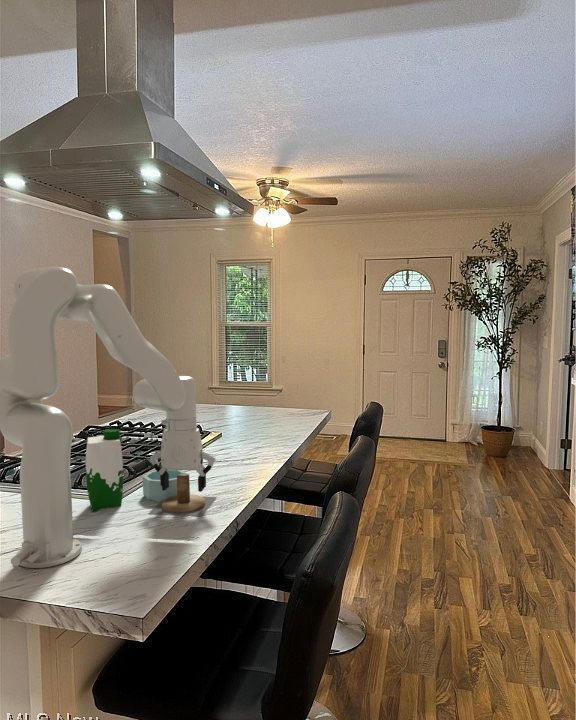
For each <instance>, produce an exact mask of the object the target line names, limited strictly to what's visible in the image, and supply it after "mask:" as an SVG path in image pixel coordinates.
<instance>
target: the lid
mask: <svg viewBox="0 0 576 720" xmlns="http://www.w3.org/2000/svg"><path fill="white" fill-rule="evenodd" d="M186 473H187V472H186ZM186 473H182V474H178V475H177V496H172V497H169V498H167V499H165V500H164V501H163V502H162V508H163V510H165V511H167V512H171V513H187V512H193V511H196V510H199V509H201V508H203V507H204V506H205V498H203V497H204V496H201V495H198V494H191V489H190V487H191V485H190V474H189V473H187V474H186Z"/></svg>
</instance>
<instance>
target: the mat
mask: <svg viewBox="0 0 576 720" xmlns="http://www.w3.org/2000/svg"><path fill="white" fill-rule="evenodd" d="M202 497H203V498H205V506H204V507H203V508H201V509H199V510H196V511H193V512H187V513H171V512H167V511H165V510H163V508H162V502H163V501H159V502H158V503H157V505H155V507H154V508H152V509H151V510H150V511H149V512H148V513H147V515H154V516H174V517H175V516H177V517H178V516H179V517H198V518H199V517H200V518H202V517H203V516H204V515H205V514H206V512H208V510H209V509H210V507H211V506H212V504H213V503H214V502H215V501H216V500H217V498H218V496H202Z"/></svg>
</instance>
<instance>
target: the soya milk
mask: <svg viewBox="0 0 576 720" xmlns="http://www.w3.org/2000/svg"><path fill="white" fill-rule="evenodd" d="M86 441H87V442H86V449H85V450H86V452H85V479H86V489H87V491H86V492H87V495H88V501H89V504H90V508H91V512H92V513H94V512H99V511H100V510H102V509H110V508H118V507H122V501H123V493H124V474H123V473H124V471H123V470H124V469H123V468H124V467H123V454H122V453H123V452H122V442H121V441H122V438H121V433H120V429H119V428H110V429H109V428H107V429H105V430H103V435H97V436H90V437H89V436H88V437H87V440H86Z"/></svg>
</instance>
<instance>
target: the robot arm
mask: <svg viewBox="0 0 576 720" xmlns="http://www.w3.org/2000/svg"><path fill="white" fill-rule="evenodd" d="M12 289H13V290H12V291H13V294H14V297H15V298H16V300H14V303H13V304H12V307H11V309H10V312H9V315H8V318H7V319H8V320H7V337H8V350H9V353H7V354H6V355H4V356H3V357H1V358H0V433H1V434H2V436H3V437H4V438H5V440H7V441H8V442H9V443H11V444H13V445H14V446H18V447H21V448H22V455H21V461H20V467H19V484H20V485H19V486H20V499H21V500H20V502H21V519H22V537H23V541H22V542H21V548H20V549H19V550H18V551H17V552H16V555H14V556H12V558H11V559H10V563H11V566H13V567H17V566H21V567H23V568H29V569H44V568H52V567H55V566H59V565H62V564H65V563H67V562H70V561H72V560H73V559H75V558H77V556H79V555H80V553H81V552H82V550H83V547H82V546H83V545H82V542H81V541H80V540H78V539H76V538H74V525H73V524H74V523H73V522H74V520H73V503H72V501H73V500H72V499H73V498H72V481H71V453H72V452H71V451H72V443H73V438H74V437H73V436H74V429H73V424H72V421H71V419H70V417H69V416H68V415H67V414H66V413H65V411H63V410H61V409H59V408H57V407H55V406H53V405H47V404H43V400H46V399H48V398H51V397H53V396H54V395H55V394H56V393H57V391H58V389H60V383H61V376H60V375H61V374H60V368H59V359H58V353H57V344H56V325H57V320H58V318H62V319H66V320H70V321H74V322H75V321H76V322H81V323H83V322H84V323H90V324H91V327H92V328H93V330H94V331H95V333H96V334H97V336H98V337H99V339H100V340H101V342H102V343H103V346H104V348H106V350H107V352H108V353H109V355H110V356H111V357H112V358H113V359H115V360H116V361H117V362H119V363H121V364H122V365H123V366H125V367H128V368H129V369H132V370H133V371H134V372H136V373H137V374H138V375H140V376H141V377H142V378H143V379H141V380H139V381H138V382H137V383H135V385H134V387H133V389H132V398H133V400H134V402H135V403H136V404H137V405H139V406H140V407H142V408H145V409H150V410H155V411H162V412H166V413H165V416H166V418H164V419H162V420H161V423H160V424H161V425H163V426H165V429H163V432H162V439H161V447H160V452H157V453H156V454H153V455H152V456H150V458H149V461H150V462H151V464H152V466H153V469H154V471H157V472H158V474H159V475H160V482H161V486H162V490H166V489H167V488H168V487H169V473H168V472H167V470H168V469H169V470H182V471H194V470H195V471H196V473H197V474H198V477H197V484H198V487H197V489H198V492H200V493H202V492H203V491H204V489H205V488H206V486H207V474H208V472H210V471H211V469H212V468H213V467H214V465H215V463H216V460H217V459H216V458H215V456H212V455H210V454H209V453H206V452H205V451H203V441H202V438H201V437H202V436H201V432H200V428H198V427H197V426H198V425H197V394H196V393H197V392H196V391H197V390H196V379H194V377H192V376H189V375H188V376H187V375H179V374H178V372H177V370H176V369H175V367H174V366H173V364H172V363H171V362H170V361H169V359H168V358H166V357H165V356H164V354H163V353H162V352H160V351H159V350H158V348H156V347H155V346H154V345H153V344H152V343H151V342H149V341H148V340H147V339H146V338H145V337H144V336H143V333H142V332H141V330H140V328H139V327H138V325H137V323H136V322H135V320H134V318H133V316H132V315H131V313H130V311H129V309H128V308H127V306H126V305H125V303H124V300H123V299H122V297H121V296H120V294H119V292H118V291H117V290H116V289H115V288H114V287H113V286H111V285H109V284H103V283H98V284H97V283H95V284H93V283H92V284H79V283H78V279H77V276H76V275H75V273H74V272H73V271H71V270H70V269H69V268H66V267H63V266H62V267H61V266H45V267H40V268H34V269H28V270H26V271H23V272H21V273H19V274H18V276H16V277H15V280H14V282H13V288H12ZM159 459H160V462H159V461H158V460H159ZM204 460H205V461H207V462H208V463H207V465H206V467H205V466H204V465H203V463H204Z"/></svg>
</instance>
